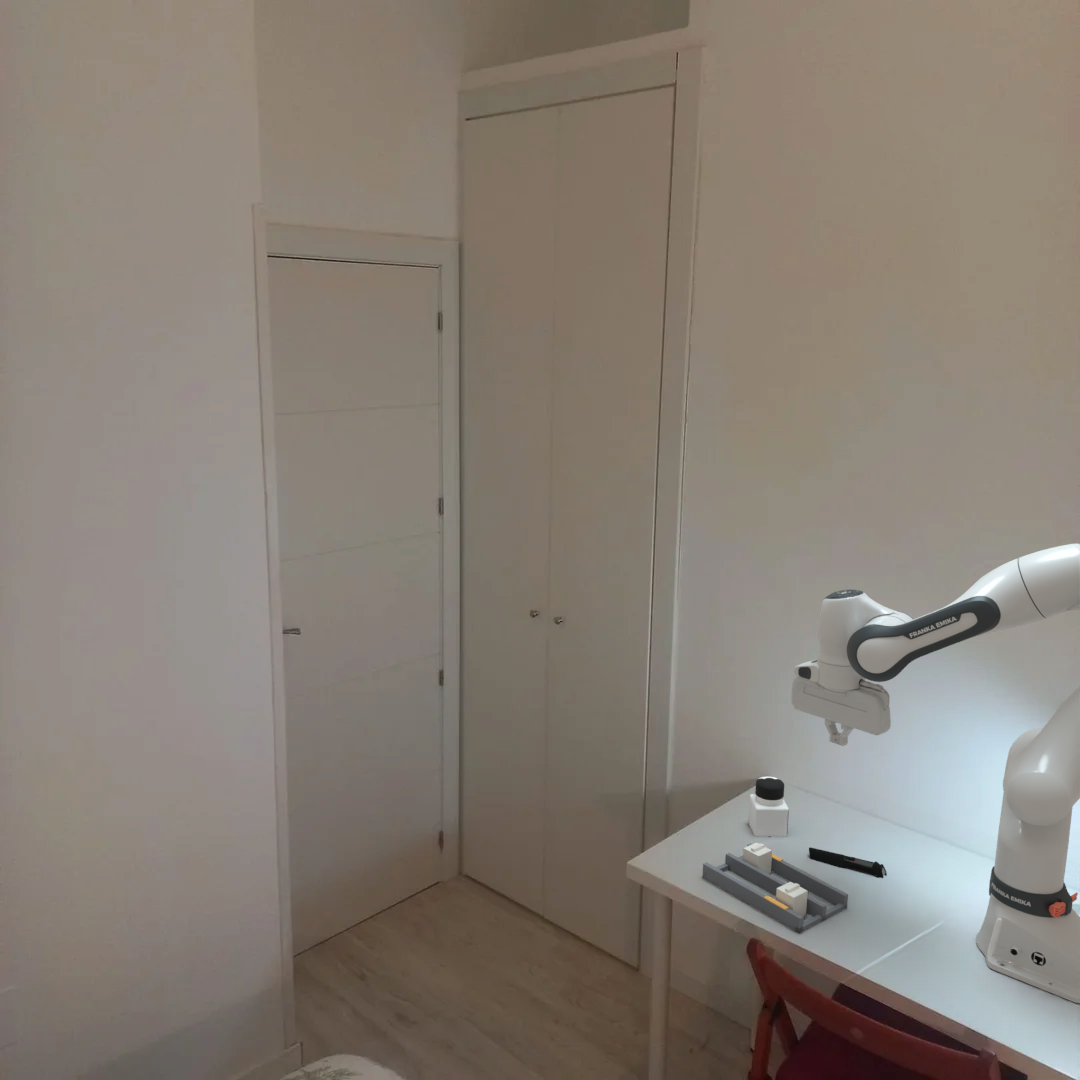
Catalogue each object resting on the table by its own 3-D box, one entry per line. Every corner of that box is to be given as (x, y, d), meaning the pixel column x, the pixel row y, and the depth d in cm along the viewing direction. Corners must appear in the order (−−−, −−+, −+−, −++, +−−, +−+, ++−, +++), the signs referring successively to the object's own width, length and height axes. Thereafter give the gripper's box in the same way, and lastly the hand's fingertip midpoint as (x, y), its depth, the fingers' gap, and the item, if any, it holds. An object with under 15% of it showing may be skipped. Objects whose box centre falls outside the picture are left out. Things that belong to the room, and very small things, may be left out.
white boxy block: (805, 915, 192) (807, 887, 191) (792, 922, 189) (793, 894, 188) (788, 905, 195) (790, 878, 194) (774, 912, 192) (776, 885, 191)
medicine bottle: (787, 839, 222) (790, 787, 219) (754, 839, 222) (757, 787, 219) (779, 823, 229) (782, 773, 226) (747, 823, 229) (750, 773, 226)
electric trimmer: (810, 856, 216) (811, 842, 215) (887, 875, 208) (888, 860, 208) (806, 864, 212) (806, 850, 212) (883, 883, 205) (884, 869, 204)
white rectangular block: (770, 873, 206) (772, 847, 205) (757, 879, 204) (759, 853, 203) (755, 864, 209) (757, 839, 208) (742, 870, 207) (743, 845, 206)
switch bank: (846, 911, 194) (848, 893, 194) (798, 936, 186) (800, 917, 185) (749, 859, 213) (750, 842, 212) (702, 880, 205) (703, 862, 204)
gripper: (899, 683, 188) (896, 755, 191) (807, 658, 204) (805, 724, 207) (879, 691, 184) (876, 764, 187) (787, 665, 200) (785, 732, 203)
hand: (838, 743), depth 197 cm, fingers closed
